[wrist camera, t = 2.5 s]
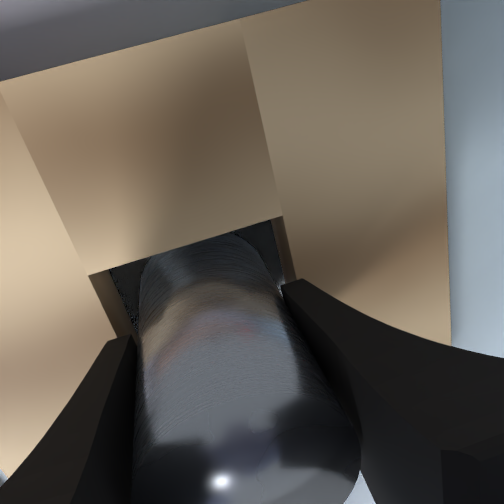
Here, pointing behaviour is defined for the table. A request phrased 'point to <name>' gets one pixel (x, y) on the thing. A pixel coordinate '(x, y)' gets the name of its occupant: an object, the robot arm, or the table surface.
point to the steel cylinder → (231, 389)
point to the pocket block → (220, 179)
